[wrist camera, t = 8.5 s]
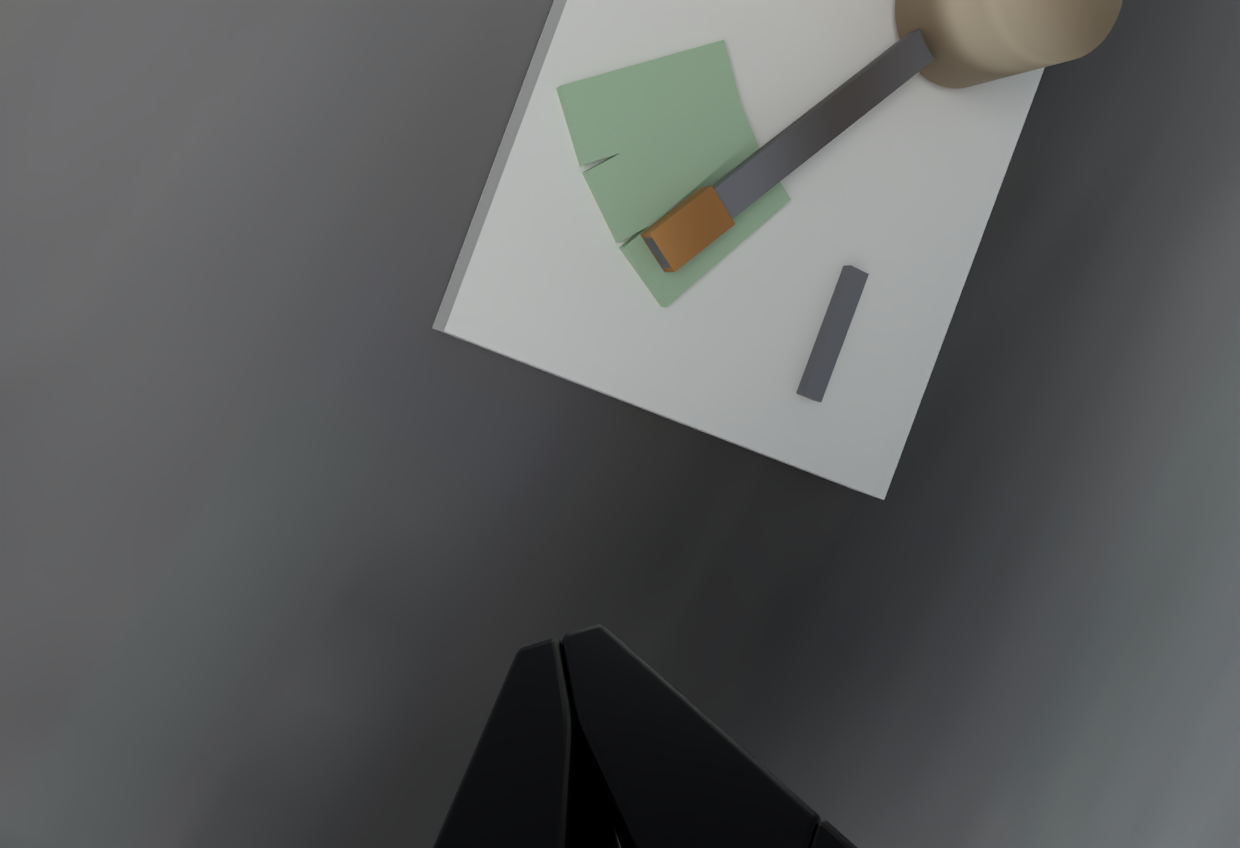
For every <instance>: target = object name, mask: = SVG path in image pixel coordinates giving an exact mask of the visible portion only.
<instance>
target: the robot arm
mask: <svg viewBox="0 0 1240 848" xmlns="http://www.w3.org/2000/svg"><path fill="white" fill-rule="evenodd" d="M616 833H617V835H616ZM617 836H618V839H619V842H620V845H621V847H622V848H857V847H856V846H855V845H854V844H853V843H851V842H850V841H849V840H848V839H847V838H846V837H845V836H844V835H842V834H841V833H840V832H839V831H838V830H837V829H836V828H834V827H833V826H832V825H831V824H830V823H829V822H827V821H821V818H820V816H819V815H818V814H817V813H816V812H815V811H814V810H812V809H811V808H810V807H809V806H808V805H807V804H806V803H804V802H803V801H802V800H801V799H800V798H799V797H798V796H797V795H795V794H794V793H793V792H792V791H791V790H790V789H789V788H788V787H786V786H785V785H784V784H783V783H782V782H781V781H780V780H778V779H777V778H776V777H775V776H774V775H773V774H772V773H771V772H769V771H768V770H767V769H766V768H765V767H764V766H763V765H761V764H760V763H759V762H758V761H757V760H756V759H755V758H754V757H752V756H751V755H750V754H749V753H748V752H747V751H746V750H744V749H743V748H742V747H741V746H740V745H739V744H738V743H737V742H735V741H734V740H733V739H732V738H731V737H730V736H729V735H727V734H726V733H725V732H724V731H723V730H722V729H721V728H720V727H718V726H717V725H716V724H715V723H714V722H713V721H712V720H710V719H709V718H708V717H707V716H706V715H705V714H704V713H703V712H701V711H700V710H699V709H698V708H697V707H696V706H695V705H693V704H692V703H691V702H690V701H689V700H688V699H687V698H686V697H684V696H683V695H682V694H681V693H680V692H679V691H678V690H676V689H675V688H674V687H673V686H672V685H671V684H670V683H669V682H667V681H666V680H665V679H664V678H663V677H662V676H661V675H660V674H658V673H657V672H656V671H655V670H654V669H653V668H652V667H650V666H649V665H648V664H647V663H646V662H645V661H644V660H643V659H641V658H640V657H639V656H638V655H637V654H636V653H635V652H633V651H632V650H631V649H630V648H629V647H628V646H627V645H626V644H624V643H623V642H622V641H621V640H620V639H619V638H618V637H616V636H615V635H614V634H613V633H612V632H611V631H610V630H609V629H607V628H606V627H604V626H603V625H600V624H596V625H593V626H590V627H586V628H583V629H580V630H577V631H574V632H570V633H568V634H566V635H565V636H564V637H563V639H562V643H561V641H559V640H558V639H556V638H551V639H548V640H545V641H542V642H539V643H536V644H532V645H529V646H526V647H523V648H521V649H520V650H519V651H518V652H517V654H516V656H515V658H514V660H513V663H512V665H511V667H510V670H509V672H508V674H507V676H506V679H505V681H504V683H503V686H502V688H501V690H500V693H499V695H498V697H497V700H496V702H495V704H494V707H493V709H492V711H491V714H490V716H489V718H488V721H487V723H486V725H485V728H484V730H483V732H482V735H481V737H480V739H479V742H478V744H477V746H476V749H475V751H474V753H473V756H472V758H471V760H470V763H469V765H468V767H467V770H466V772H465V774H464V777H463V779H462V781H461V784H460V786H459V788H458V791H457V793H456V795H455V798H454V800H453V802H452V804H451V807H450V809H449V811H448V814H447V816H446V818H445V821H444V823H443V825H442V828H441V830H440V832H439V835H438V837H437V839H436V842H435V844H434V846H433V848H619V844H618V839H617Z"/></svg>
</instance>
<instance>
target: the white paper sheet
mask: <svg viewBox="0 0 1240 848" xmlns="http://www.w3.org/2000/svg"><path fill="white" fill-rule="evenodd" d="M899 40H900V38H899V35H898V31H897V25H896V17H895V0H554V1H553V4H552V7H551V9H550V12H549V15H548V17H547V20H546V23H545V26H544V28H543V31H542V34H541V36H540V39H539V42H538V44H537V47H536V50H535V52H534V55H533V58H532V61H531V63H530V66H529V69H528V71H527V74H526V77H525V79H524V82H523V85H522V87H521V90H520V93H519V95H518V98H517V101H516V104H515V106H514V109H513V112H512V114H511V117H510V120H509V122H508V125H507V128H506V130H505V133H504V136H503V138H502V141H501V144H500V147H499V149H498V152H497V155H496V157H495V160H494V163H493V165H492V168H491V171H490V173H489V176H488V179H487V181H486V184H485V187H484V190H483V192H482V195H481V198H480V200H479V203H478V206H477V208H476V211H475V214H474V216H473V219H472V222H471V225H470V227H469V230H468V233H467V235H466V238H465V241H464V243H463V246H462V249H461V251H460V254H459V257H458V259H457V262H456V265H455V268H454V270H453V273H452V276H451V278H450V281H449V284H448V286H447V289H446V292H445V294H444V297H443V300H442V302H441V305H440V308H439V311H438V313H437V316H436V319H435V321H434V324H433V327H432V329H435V330H438V331H440V332H443V333H446V334H448V335H451V336H453V337H456V338H459V339H461V340H464V341H466V342H469V343H472V344H474V345H477V346H479V347H482V348H485V349H487V350H490V351H493V352H495V353H498V354H500V355H503V356H506V357H508V358H511V359H513V360H516V361H519V362H521V363H524V364H526V365H529V366H532V367H534V368H537V369H540V370H542V371H545V372H547V373H550V374H553V375H555V376H558V377H560V378H563V379H566V380H568V381H571V382H573V383H576V384H579V385H581V386H584V387H587V388H589V389H592V390H594V391H597V392H600V393H602V394H605V395H607V396H610V397H613V398H615V399H618V400H620V401H623V402H626V403H628V404H631V405H634V406H636V407H639V408H641V409H644V410H647V411H649V412H652V413H654V414H657V415H660V416H662V417H665V418H667V419H670V420H673V421H675V422H678V423H681V424H683V425H686V426H688V427H691V428H694V429H696V430H699V431H701V432H704V433H707V434H709V435H712V436H714V437H717V438H720V439H722V440H725V441H728V442H730V443H733V444H735V445H738V446H741V447H743V448H746V449H748V450H751V451H754V452H756V453H759V454H761V455H764V456H767V457H769V458H772V459H775V460H777V461H780V462H782V463H785V464H788V465H790V466H793V467H795V468H798V469H801V470H803V471H806V472H808V473H811V474H814V475H816V476H819V477H822V478H824V479H827V480H829V481H832V482H835V483H837V484H840V485H842V486H845V487H848V488H850V489H853V490H856V491H859V492H862V493H865V494H868V495H871V496H873V497H876V498H879V499H882V500H884V499H885V496H886V494H887V491H888V488H889V486H890V483H891V480H892V477H893V475H894V472H895V469H896V467H897V464H898V461H899V459H900V456H901V453H902V451H903V448H904V445H905V442H906V440H907V437H908V434H909V432H910V429H911V426H912V424H913V421H914V418H915V416H916V413H917V410H918V407H919V405H920V402H921V399H922V397H923V394H924V391H925V389H926V386H927V383H928V381H929V378H930V375H931V372H932V370H933V367H934V364H935V362H936V359H937V356H938V354H939V351H940V348H941V346H942V343H943V340H944V337H945V335H946V332H947V329H948V327H949V324H950V321H951V319H952V316H953V313H954V311H955V308H956V305H957V302H958V300H959V297H960V294H961V292H962V289H963V286H964V284H965V281H966V278H967V276H968V273H969V270H970V267H971V265H972V262H973V259H974V257H975V254H976V251H977V249H978V246H979V243H980V241H981V238H982V235H983V232H984V230H985V227H986V224H987V222H988V219H989V216H990V214H991V211H992V208H993V206H994V203H995V200H996V197H997V195H998V192H999V189H1000V187H1001V184H1002V181H1003V179H1004V176H1005V173H1006V171H1007V168H1008V165H1009V162H1010V160H1011V157H1012V154H1013V152H1014V149H1015V146H1016V144H1017V141H1018V138H1019V136H1020V133H1021V130H1022V127H1023V125H1024V122H1025V119H1026V117H1027V114H1028V111H1029V109H1030V106H1031V103H1032V101H1033V98H1034V95H1035V92H1036V90H1037V87H1038V84H1039V82H1040V79H1041V76H1042V74H1043V71H1044V68H1045V67H1043V68H1040V69H1036V70H1032V71H1028V72H1024V73H1020V74H1016V75H1013V76H1009V77H1005V78H1001V79H997V80H993V81H990V82H986V83H982V84H978V85H974V86H970V87H966V88H959V89H954V88H946V87H942V86H940V85H937V84H935V83H933V82H931V81H930V80H928V79H927V78H925V77H924V76H923V75H922V74H921V73H920V72H918V73H917V74H915V75H914V76H913V77H912V78H910V79H909V80H908V81H907V82H905V83H904V84H903V85H901V86H900V87H899V88H898V89H896V90H895V91H894V92H893V93H891V94H890V95H889V96H888V97H886V98H885V99H884V100H883V101H881V102H880V103H879V104H877V105H876V106H875V107H874V108H872V109H871V110H870V111H869V112H867V113H866V114H865V115H864V116H862V117H861V118H860V119H858V120H857V121H856V122H855V123H853V124H852V125H851V126H850V127H848V128H847V129H846V130H845V131H843V132H842V133H841V134H840V135H838V136H837V137H836V138H834V139H833V140H832V141H831V142H829V143H828V144H827V145H826V146H824V147H823V148H822V149H821V150H819V151H818V152H817V153H816V154H814V155H813V156H812V157H810V158H809V159H808V160H807V161H805V162H804V163H803V164H802V165H800V166H799V167H798V168H797V169H795V170H794V171H793V172H792V173H790V174H789V175H788V176H786V177H785V178H784V179H783V180H781V181H780V182H779V183H778V184H776V185H775V186H774V187H773V188H771V189H770V190H769V191H768V192H766V193H765V194H764V195H762V196H761V197H760V198H759V199H757V200H756V201H755V202H754V203H752V204H751V205H750V206H749V207H747V208H746V209H745V210H744V211H742V212H741V213H740V214H738V215H737V216H736V217H735V218H733V219H732V220H733V221H734V223H735V225H734V226H732V227H731V228H730V229H728V230H727V231H726V232H725V233H723V234H722V235H721V236H720V237H718V238H717V239H716V240H715V241H713V242H712V243H711V244H710V245H708V246H707V247H706V248H705V249H703V250H702V251H701V252H699V253H698V254H697V255H696V256H694V257H693V258H692V259H691V260H689V261H688V262H687V263H686V264H684V265H683V266H682V267H681V268H679V269H678V270H677V271H676V272H664V271H663V269H662V268H661V266H660V265H659V263H658V262H657V260H656V258H655V257H654V255H653V254H652V252H651V251H650V249H649V248H648V246H647V244H646V243H645V241H644V240H643V238H642V237H641V235H640V234H641V233H642V232H644V231H645V230H646V229H648V228H649V227H650V226H651V225H653V224H654V223H655V222H657V221H658V220H659V219H660V218H662V217H663V216H664V215H666V214H667V213H668V212H669V211H671V210H672V209H673V208H675V207H676V206H677V205H678V204H680V203H681V202H682V201H684V200H685V199H686V198H688V197H689V196H690V195H691V194H693V193H694V192H695V191H697V190H698V189H699V188H701V187H706V186H711V185H713V184H715V183H716V182H717V181H718V180H720V179H721V178H722V177H724V176H725V175H726V174H727V173H729V172H730V171H731V170H733V169H734V168H735V167H736V166H738V165H739V164H740V163H742V162H743V161H744V160H745V159H747V158H748V157H749V156H751V155H752V154H753V153H754V152H756V151H757V150H758V149H760V148H761V147H762V146H763V145H765V144H766V143H767V142H769V141H770V140H771V139H772V138H774V137H775V136H776V135H778V134H779V133H780V132H781V131H783V130H784V129H785V128H787V127H788V126H789V125H790V124H792V123H793V122H794V121H796V120H797V119H798V118H799V117H801V116H802V115H803V114H805V113H806V112H807V111H808V110H810V109H811V108H812V107H814V106H815V105H816V104H817V103H819V102H820V101H821V100H823V99H824V98H825V97H827V96H828V95H829V94H830V93H832V92H833V91H834V90H836V89H837V88H838V87H839V86H841V85H842V84H843V83H845V82H846V81H847V80H848V79H850V78H851V77H852V76H854V75H855V74H856V73H857V72H859V71H860V70H861V69H863V68H864V67H865V66H866V65H868V64H869V63H870V62H872V61H873V60H874V59H875V58H877V57H878V56H879V55H881V54H882V53H883V52H884V51H886V50H887V49H888V48H890V47H891V46H892V45H893V44H895V43H896V42H897V41H899Z"/></svg>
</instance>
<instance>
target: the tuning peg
mask: <svg viewBox="0 0 1240 848" xmlns="http://www.w3.org/2000/svg"><path fill="white" fill-rule="evenodd" d="M1122 2H1123V0H895V17H896V25H897V31H898V35H899V38H900V40H899V41H897V42H896V43H895V44H893V45H892V46H891V47H890V48H888V49H887V50H886V51H884V52H883V53H882V54H881V55H879V56H878V57H877V58H875V59H874V60H873V61H872V62H870V63H869V64H868V65H866V66H865V67H864V68H863V69H861V70H860V71H859V72H857V73H856V74H855V75H854V76H852V77H851V78H850V79H848V80H847V81H846V82H845V83H843V84H842V85H841V86H839V87H838V88H837V89H836V90H834V91H833V92H832V93H830V94H829V95H828V96H827V97H825V98H824V99H823V100H821V101H820V102H819V103H817V104H816V105H815V106H814V107H812V108H811V109H810V110H808V111H807V112H806V113H805V114H803V115H802V116H801V117H799V118H798V119H797V120H796V121H794V122H793V123H792V124H790V125H789V126H788V127H787V128H785V129H784V130H783V131H781V132H780V133H779V134H778V135H776V136H775V137H774V138H772V139H771V140H770V141H769V142H767V143H766V144H765V145H763V146H762V147H761V148H760V149H758V150H757V151H756V152H754V153H753V154H752V155H751V156H749V157H748V158H747V159H745V160H744V161H743V162H742V163H740V164H739V165H738V166H736V167H735V168H734V169H733V170H731V171H730V172H729V173H727V174H726V175H725V176H724V177H722V178H721V179H720V180H718V181H717V182H716V183H715V184H713V185H711V186H706V187H701V188H699V189H698V190H697V191H695V192H694V193H693V194H691V195H690V196H689V197H688V198H686V199H685V200H684V201H682V202H681V203H680V204H678V205H677V206H676V207H675V208H673V209H672V210H671V211H669V212H668V213H667V214H666V215H664V216H663V217H662V218H660V219H659V220H658V221H657V222H655V223H654V224H653V225H651V226H650V227H649V228H648V229H646V230H645V231H644V232H642V233H641V234H640V235H641V237H642V238H643V240H644V241H645V243H646V244H647V246H648V248H649V249H650V251H651V252H652V254H653V255H654V257H655V258H656V260H657V262H658V263H659V265H660V266H661V268H662V269H663V271H664V272H676V271H677V270H678V269H679V268H681V267H682V266H683V265H684V264H686V263H687V262H688V261H689V260H691V259H692V258H693V257H694V256H696V255H697V254H698V253H699V252H701V251H702V250H703V249H705V248H706V247H707V246H708V245H710V244H711V243H712V242H713V241H715V240H716V239H717V238H718V237H720V236H721V235H722V234H723V233H725V232H726V231H727V230H728V229H730V228H731V227H732V226H734V225H735V223H734V221H733V220H732V219H733V218H735V217H736V216H737V215H738V214H740V213H741V212H742V211H744V210H745V209H746V208H747V207H749V206H750V205H751V204H752V203H754V202H755V201H756V200H757V199H759V198H760V197H761V196H762V195H764V194H765V193H766V192H768V191H769V190H770V189H771V188H773V187H774V186H775V185H776V184H778V183H779V182H780V181H781V180H783V179H784V178H785V177H786V176H788V175H789V174H790V173H792V172H793V171H794V170H795V169H797V168H798V167H799V166H800V165H802V164H803V163H804V162H805V161H807V160H808V159H809V158H810V157H812V156H813V155H814V154H816V153H817V152H818V151H819V150H821V149H822V148H823V147H824V146H826V145H827V144H828V143H829V142H831V141H832V140H833V139H834V138H836V137H837V136H838V135H840V134H841V133H842V132H843V131H845V130H846V129H847V128H848V127H850V126H851V125H852V124H853V123H855V122H856V121H857V120H858V119H860V118H861V117H862V116H864V115H865V114H866V113H867V112H869V111H870V110H871V109H872V108H874V107H875V106H876V105H877V104H879V103H880V102H881V101H883V100H884V99H885V98H886V97H888V96H889V95H890V94H891V93H893V92H894V91H895V90H896V89H898V88H899V87H900V86H901V85H903V84H904V83H905V82H907V81H908V80H909V79H910V78H912V77H913V76H914V75H915V74H917V73H918V72H920V73H921V74H922V75H923V76H924V77H925V78H927V79H928V80H930V81H931V82H933V83H935V84H937V85H940V86H942V87H946V88H954V89H959V88H966V87H970V86H974V85H978V84H982V83H986V82H990V81H993V80H997V79H1001V78H1005V77H1009V76H1013V75H1016V74H1020V73H1024V72H1028V71H1032V70H1036V69H1040V68H1043V67H1047V66H1051V65H1055V64H1059V63H1063V62H1066V61H1070V60H1074V59H1077V58H1080V57H1082V56H1084V55H1086V54H1088V53H1090V52H1091V51H1093V50H1094V49H1095V48H1096V47H1098V46H1099V45H1100V44H1101V43H1102V42H1103V40H1104V39H1105V38H1106V37H1107V35H1108V34H1109V32H1110V31H1111V29H1112V28H1113V26H1114V24H1115V22H1116V20H1117V17H1118V15H1119V12H1120V9H1121V6H1122Z"/></svg>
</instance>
